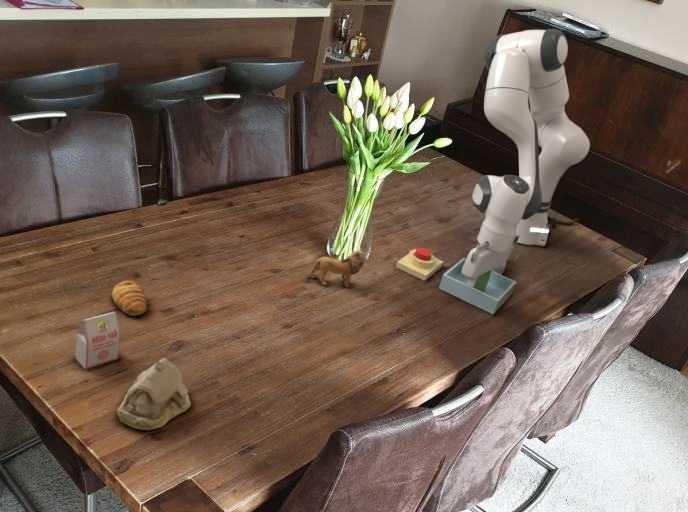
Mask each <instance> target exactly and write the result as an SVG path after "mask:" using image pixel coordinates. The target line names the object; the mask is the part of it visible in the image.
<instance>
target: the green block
mask: <svg viewBox="0 0 688 512" xmlns="http://www.w3.org/2000/svg"><path fill="white" fill-rule="evenodd" d="M490 275H491V270H490V271H488V272H486V273H484V274H482V275H481V276H479V277H478V278H477V280H476V282H477V284H476V287H474V288H475V289H477V290H479V291H481V292H483V293H484V291H485V289H486V286H487V284H488V281H489V279H490Z"/></svg>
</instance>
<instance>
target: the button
mask: <svg viewBox="0 0 688 512" xmlns="http://www.w3.org/2000/svg"><path fill="white" fill-rule="evenodd" d="M415 249H416V252H415V257H416V258H418V259H420V260H423V261H429V260H430V258H431V255H433V254H432V253H433V252H432V251H430V250H429V249H427V248H424V247H417V248H415Z"/></svg>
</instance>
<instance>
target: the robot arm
mask: <svg viewBox="0 0 688 512" xmlns="http://www.w3.org/2000/svg"><path fill="white" fill-rule="evenodd" d="M568 49H569V45H568V39H567V37H566V35H565V34H564V33H563V31H562V30H560V29H555V28H547V29H526V30H523V31H516V32H512V33H508V34H505V33H502V34H499V35H498V34H497V35H496V36H493V37H492V38H491V39H490V40H489V41H488V43H487V44H486V46H485V50H484V63H485V66H486V69H487V70H488V74H487V80H486V84H485V92H484V100H483V111H484V115H485V118H486V119H487V121H488V122H489V123H490V124H491V125H492V127H494V128H495V129H496V130H498V131H500V132H501V133H503V134H504V135H506V136H507V137H509V138H510V139H511V140H512V142H514V144H515V145H516V148H517V151H518V176H517V175H514V174H505V175H503V176H500V175H499V176H498V175H491V174H490V175H489V174H485V175H483V176H481V177H480V178H479V179H478V180H477V181H476V182H475V184H474V185H473V188H472V191H471V196H470V197H471V198H470V201H471V202H472V204H473V206H474V207H475V208H476V209H477V210H478V211H479V212H480V213H481V214H484V215H485V218H484V220H483V221H482V224H481V226H480V229H479V232H478V235H477V237H476V239H477V240H476V241H477V242H478V243H479V244H480V245H479V244H477V245H478V246H477V245H476V247H474V248H472V249H471V250H470V251H469V253H468V254H467V256H466V261H465V263H464V266H463V268H462V271H461V273H462V275H463V276H465V277H466V278H468V279H469V282H468V286H471V287H473V288H474V287H476V284H477V282H476V280H477V278H478V277H479V276H481V275H482V274H484V273H486V272H488V271H490V270H491V274H492V273H493V271H494V270H495V268H496V267H497V266H499V265H501V264H503V263H505V262H506V261H508V260H509V258H510V256H511V254H512V252H513V249H514V248H515V245H516V243H518V244H522V245H526V246H538V247H539V246H540V247H545V246H546V243H547V240H548V235H549V232H550V227H548V226H547V225H551V226H552V228H555V226H556V223H557V224H562V225H572V224H574V223H576V222H577V223H581V219H579V218H575V219H573V220H571V221H563V220H560V219H559V220H558V219H557V217H556V216H554V215H553V214H552V213H550V212H549V210H550V207H551V206H552V205H551V204H552V198H553V195H554V193H555V190H556V188H557V187H558V184H559V182H560V179H561V178H562V176H563V175H564V174H565V172H567V170H568V169H569V168H570V167H571V166H574V165H577V164H579V163H581V162H582V161H583V160H584V159H585V158H586V157H587V155H588V153H589V151H590V148H591V142H590V139H589V137H588V136H587V134H586V132H585V131H584V130H583V129H582V128H581V127H580V126H578V125H577V124H575V122H573V121H572V120H571V119H569V117H568V116H567V113H566V110H565V108H566V107H565V106H566V104H567V103H568V101H569V99H570V92H569V91H570V90H569V86H568V81H567V75H566V69H565V65H564V64H565V63H566V60H567V58H568V51H569V50H568ZM540 148H541V152H540V151H539V149H540ZM506 263H507V262H506ZM490 276H491V275H490Z"/></svg>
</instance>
